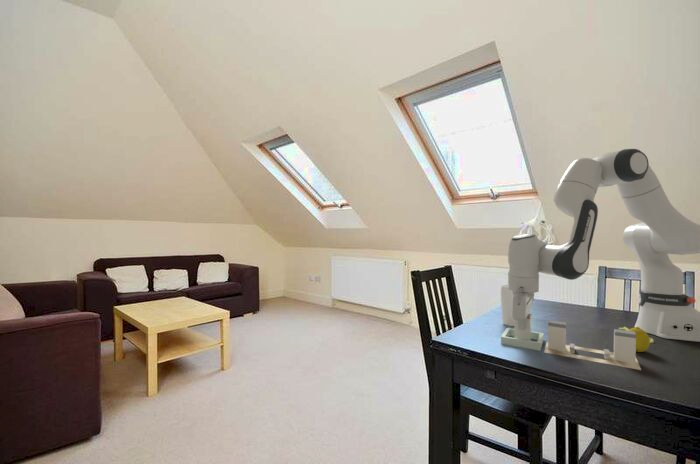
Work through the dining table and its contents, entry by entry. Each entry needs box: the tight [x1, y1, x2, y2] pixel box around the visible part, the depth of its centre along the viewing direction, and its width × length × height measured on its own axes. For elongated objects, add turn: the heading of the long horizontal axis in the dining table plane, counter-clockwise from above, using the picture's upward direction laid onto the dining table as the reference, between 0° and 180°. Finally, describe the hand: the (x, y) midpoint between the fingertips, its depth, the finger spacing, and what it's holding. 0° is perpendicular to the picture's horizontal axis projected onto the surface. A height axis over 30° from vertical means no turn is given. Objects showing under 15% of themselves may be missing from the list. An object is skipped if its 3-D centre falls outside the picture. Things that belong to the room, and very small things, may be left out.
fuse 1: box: [547, 319, 567, 352], centre depth 103 cm, size 4×3×8 cm, turn 56°
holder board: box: [543, 341, 642, 371], centre depth 99 cm, size 22×11×1 cm, turn 56°
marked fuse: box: [513, 313, 532, 341], centre depth 109 cm, size 4×3×8 cm, turn 56°
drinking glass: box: [500, 284, 514, 327], centre depth 129 cm, size 7×7×15 cm
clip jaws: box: [569, 342, 611, 360], centre depth 99 cm, size 9×4×2 cm, turn 56°
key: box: [618, 326, 655, 344], centre depth 116 cm, size 7×12×2 cm, turn 3°
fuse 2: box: [613, 328, 637, 364], centre depth 94 cm, size 4×3×8 cm, turn 56°
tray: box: [500, 327, 545, 351], centre depth 110 cm, size 11×11×3 cm
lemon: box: [628, 327, 651, 353], centre depth 101 cm, size 6×6×8 cm
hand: (522, 327), depth 109 cm, fingers closed on marked fuse, 3 cm apart
